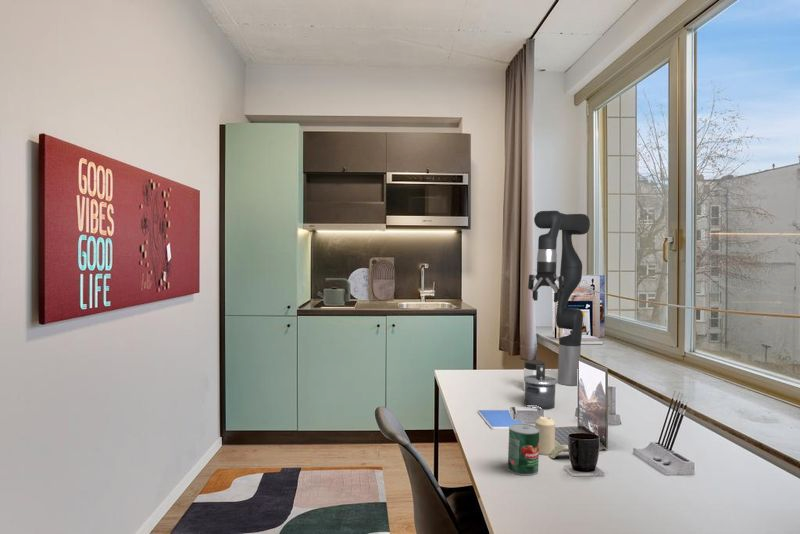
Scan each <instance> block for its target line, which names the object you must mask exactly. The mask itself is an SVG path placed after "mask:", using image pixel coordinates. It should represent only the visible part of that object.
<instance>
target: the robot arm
mask: <svg viewBox="0 0 800 534" xmlns="http://www.w3.org/2000/svg"><path fill="white" fill-rule="evenodd" d="M533 220H534V221H533V222H534V224H535V226H536V227H537V228H539V229H542V230H543V229H545V230H546V229H549V230H548V232H546V233H544V234H540V235H539V236H538V244H537V245H538V247H537V256H536V274H529V275H528V283H527V285H528V286H527V289H528V290H530V291H532V299H533V301H538V297H539V296H538V295H539V294H538V293H539V291H538V290H539V289H540V288H541V287H551V289H552V290H553V302H554V303H557V306H556V316H555V324H556V326H557V328H558V329H561V330H564V329H565V330H571V333H570V334H568V335H564V336H561V337H559V338H558V359H557V360H558V364H557V365H558V366H557V367H558V368H557V384H560V385H564V386H571V385H574V386H578V385H577V369H578V359H579V358H580V359H581V353H582V352H581V349H582V348H581V345H582V336H583V334H582V332H583V323H584V313H583V311H582V310H581V309H579V308H571V307H569V308H568V303H569V299H570V297H571V296H572V294H573V293H574V291H576V289H577V288H578V286H579V285H580V283H581V282H582V277H583V262H582V260H581V259H580V256H579V255H578V253H577V250H576V249H575V247H574V245H573V240H572V235H574V236H575V235H577V236H578V235H579V236H582V235H586V234H587V233H588V232H589V231H590V226H591V223H590V218H589V216H588V215H586V214H583V213H567V214H566V213H563V212H560V210H540V211H537V212H536V213H535V216H534V218H533ZM560 231H561V259H560V268H559V269H560V270H559V276H557V261H558V260H557V258H558V257H557V256H558V254H557V243H558V242H557V241H558V236H559V232H560ZM535 280H537V281H536V282H535ZM556 281H557V282H558V285H557V283H556ZM534 283H535V284H534Z"/></svg>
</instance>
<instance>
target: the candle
mask: <svg viewBox="0 0 800 534" xmlns="http://www.w3.org/2000/svg"><path fill="white" fill-rule="evenodd" d="M534 426H536V427H538V428H539V429H540V432H539V455H543V456H550V455H549V453H550V452H551V451H552V450H553V449H554V450H555V441H556V439H555V438H556V422H555V421H554V420H553V419H552V417H547V416H546V417H545V416H539V417H538V418H537V419H536V420H535V425H534Z"/></svg>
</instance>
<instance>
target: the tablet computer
mask: <svg viewBox="0 0 800 534" xmlns="http://www.w3.org/2000/svg"><path fill="white" fill-rule="evenodd" d="M509 410H510V409H508V410H507V409H502V410H501V409H500V410H499V409H495V410H494V409H490V410H489V409H485V410H484V409H483V410H482V409H479V410H477V414H479V416H480V417H481V418H482V419H483V421H484V422H485V423H486V424H487V425H488V427H489V428H490V429H491V430H509V426H510V425H512V424H519V423H521V424H525V422H524V421H523V420H521V421H515V420H513V419H512V418H511V416H510V413H509Z"/></svg>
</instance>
